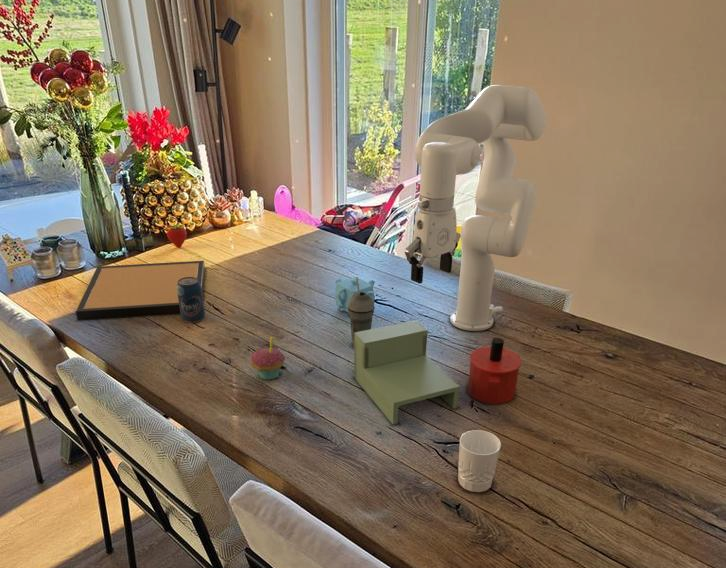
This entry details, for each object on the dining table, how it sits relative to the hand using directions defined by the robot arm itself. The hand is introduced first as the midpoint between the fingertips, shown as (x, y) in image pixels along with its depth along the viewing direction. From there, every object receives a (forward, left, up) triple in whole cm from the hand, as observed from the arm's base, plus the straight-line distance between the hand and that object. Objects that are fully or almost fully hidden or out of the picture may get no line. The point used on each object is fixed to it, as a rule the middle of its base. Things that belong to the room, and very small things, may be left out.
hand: (431, 276), depth 147 cm
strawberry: (+41, -118, -27) cm, 127 cm away
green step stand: (+9, +5, -27) cm, 29 cm away
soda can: (+48, -56, -27) cm, 78 cm away
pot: (-11, +13, -27) cm, 32 cm away
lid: (-11, +13, -18) cm, 26 cm away
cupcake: (+37, -16, -27) cm, 48 cm away
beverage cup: (+9, -21, -27) cm, 35 cm away
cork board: (+58, -81, -27) cm, 103 cm away
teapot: (+1, -42, -27) cm, 50 cm away
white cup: (+11, +40, -27) cm, 50 cm away
